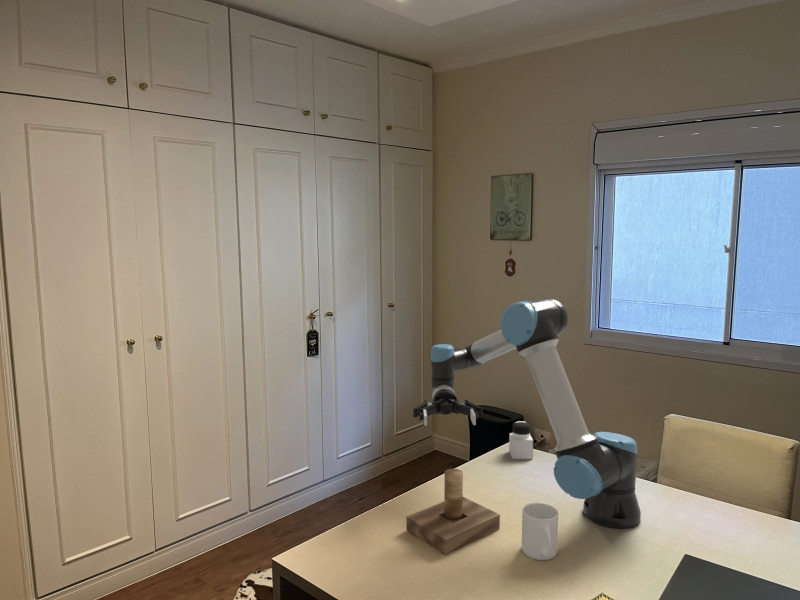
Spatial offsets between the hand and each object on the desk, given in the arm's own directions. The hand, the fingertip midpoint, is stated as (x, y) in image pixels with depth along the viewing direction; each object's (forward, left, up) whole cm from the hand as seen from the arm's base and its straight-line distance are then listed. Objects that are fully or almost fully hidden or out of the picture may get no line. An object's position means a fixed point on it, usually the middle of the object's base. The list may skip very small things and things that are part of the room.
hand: (450, 420), depth 162 cm
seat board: (-8, +6, -27) cm, 29 cm away
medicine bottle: (+14, -49, -27) cm, 57 cm away
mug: (-30, -2, -27) cm, 41 cm away
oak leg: (-8, +6, -27) cm, 29 cm away
